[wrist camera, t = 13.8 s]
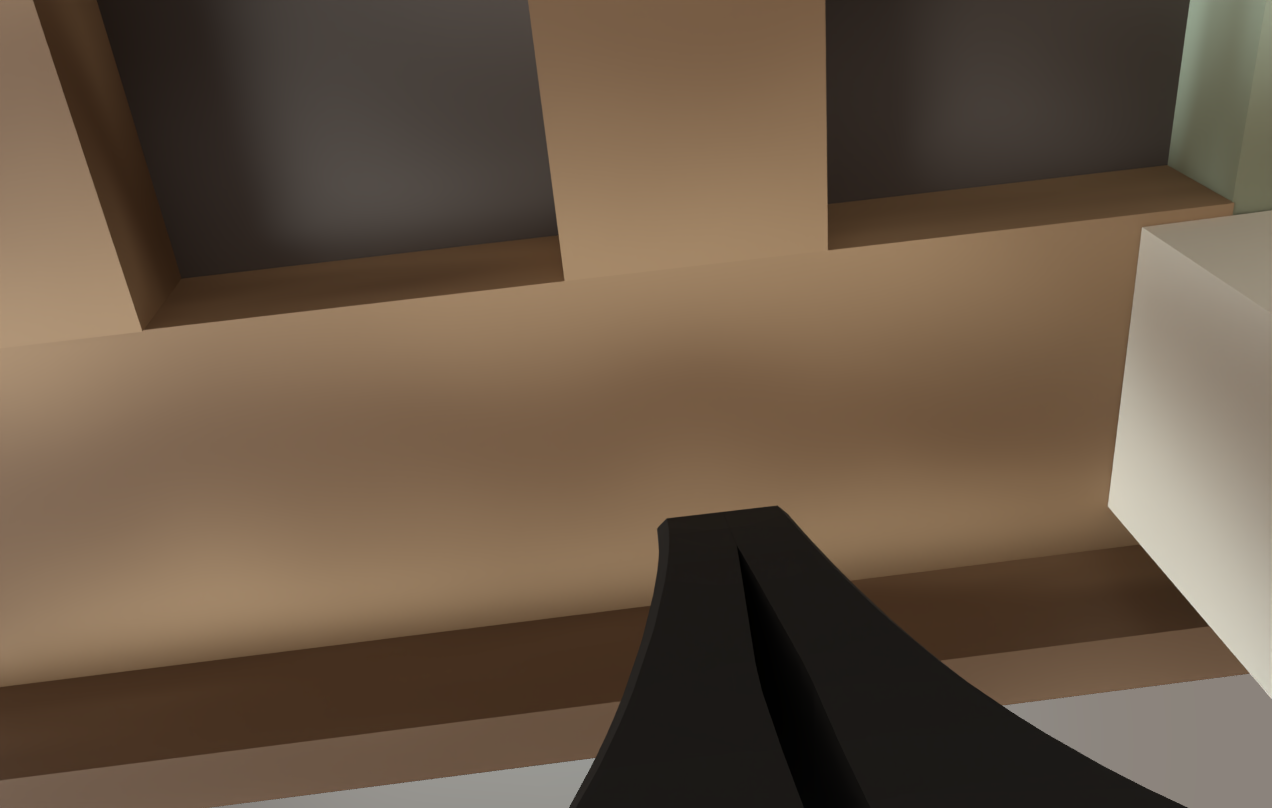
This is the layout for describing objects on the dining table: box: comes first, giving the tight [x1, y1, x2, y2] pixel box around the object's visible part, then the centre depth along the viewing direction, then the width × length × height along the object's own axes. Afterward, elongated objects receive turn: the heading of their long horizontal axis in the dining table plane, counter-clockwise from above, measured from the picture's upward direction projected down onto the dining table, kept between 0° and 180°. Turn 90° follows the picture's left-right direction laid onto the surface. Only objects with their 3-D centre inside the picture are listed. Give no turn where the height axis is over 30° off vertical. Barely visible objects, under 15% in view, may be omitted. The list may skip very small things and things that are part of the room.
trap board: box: [0, 0, 1272, 808], centre depth 15 cm, size 13×25×4 cm, turn 95°
